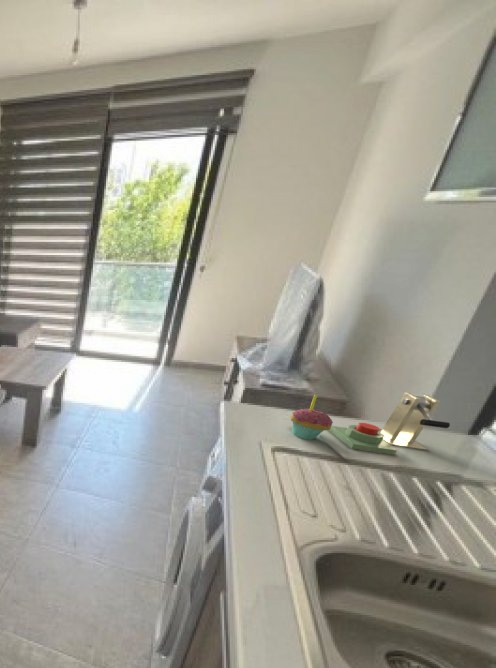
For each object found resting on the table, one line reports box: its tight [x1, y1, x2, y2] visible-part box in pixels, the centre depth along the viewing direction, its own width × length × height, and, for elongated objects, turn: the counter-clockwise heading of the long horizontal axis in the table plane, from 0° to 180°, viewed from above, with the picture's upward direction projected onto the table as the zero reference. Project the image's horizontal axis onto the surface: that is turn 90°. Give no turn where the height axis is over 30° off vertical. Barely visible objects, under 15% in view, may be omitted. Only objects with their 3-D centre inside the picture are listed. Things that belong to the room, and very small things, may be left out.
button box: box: [329, 424, 397, 456], centre depth 121 cm, size 11×9×4 cm
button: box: [356, 422, 380, 436], centre depth 120 cm, size 4×4×2 cm
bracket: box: [379, 392, 441, 451], centre depth 122 cm, size 10×8×13 cm
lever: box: [415, 395, 451, 429], centre depth 117 cm, size 10×5×2 cm, turn 163°
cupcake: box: [289, 391, 334, 440], centre depth 123 cm, size 9×8×12 cm
